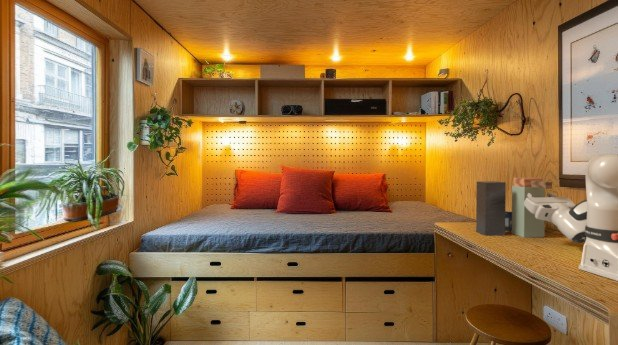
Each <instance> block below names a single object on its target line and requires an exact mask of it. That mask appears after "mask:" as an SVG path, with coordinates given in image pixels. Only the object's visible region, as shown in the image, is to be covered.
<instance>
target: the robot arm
mask: <svg viewBox="0 0 618 345" xmlns="http://www.w3.org/2000/svg"><path fill="white" fill-rule="evenodd" d="M584 174H585V192H586V199H584V200H582V201H579V202H578V203H577V204H575V203H574V202H573V200H572V199H571V198H569V197H567V196H558V195H556V194H553V192H547V194H546V196H545V197H538V198H534V197H532V196H533V194H532V193H528V195H527V196H528V197H529V198H526V199H525V201H524V206H525V207H526V208H527V209H528V210H529V211H530V212H531V213H532V214H535V218H537V219H540V220H545V222H549V223H552V224H553V225H555V226H556V227H557V228H558V230H559V232H561V233H562V235H563V236H564V237H566V238H567V239H568V240H570V241H572V242H573V243H577V244H583V243H584V244H583V247H582V255H581V261H580V264H579V265H578V269H579V270H582V271H584V272H588V273H590V274H594V275H597V276H599V277H600V276H601V277H604V278H607V279H611V280H613V281H616V282H618V154H617V153H615V154H614V153H613V154H612V153H611V154H607V153H606V154H605V153H604V154H600V155H596V156H593V157H591V158H590V159H589V161H588V162H587V163H586V166H585V173H584Z"/></svg>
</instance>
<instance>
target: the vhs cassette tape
mask: <svg viewBox="0 0 618 345" xmlns="http://www.w3.org/2000/svg"><path fill="white" fill-rule="evenodd" d="M505 232H510V233H512V211H506V210H505Z"/></svg>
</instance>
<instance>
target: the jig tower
mask: <svg viewBox="0 0 618 345" xmlns="http://www.w3.org/2000/svg"><path fill="white" fill-rule="evenodd" d="M506 185H507V184H506V181H497V180H496V181H495V180H492V181H491V180H490V181H489V180H487V181H486V180H485V181H481V180H480V181H476V205H475V206H476V208H475V209H476V211H475V212H476V214H475V215H476V217H475V218H476V220H475V221H476V222H475V223H476V224H475V225H476V226H475V228H476V229H475V232H476V233H477V234H481V235H483V236H485V237H486V236H506V231H505V211H506V200H507V199H506V197H507V196H506V195H507V194H506V192H507V190H506V187H507V186H506Z"/></svg>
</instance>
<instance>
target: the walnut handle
mask: <svg viewBox="0 0 618 345" xmlns="http://www.w3.org/2000/svg"><path fill="white" fill-rule="evenodd" d="M513 186H520V187H535V188H543V189H545V190H552V189H553V181H546V180H545V181H544V178H541V177H513Z"/></svg>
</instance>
